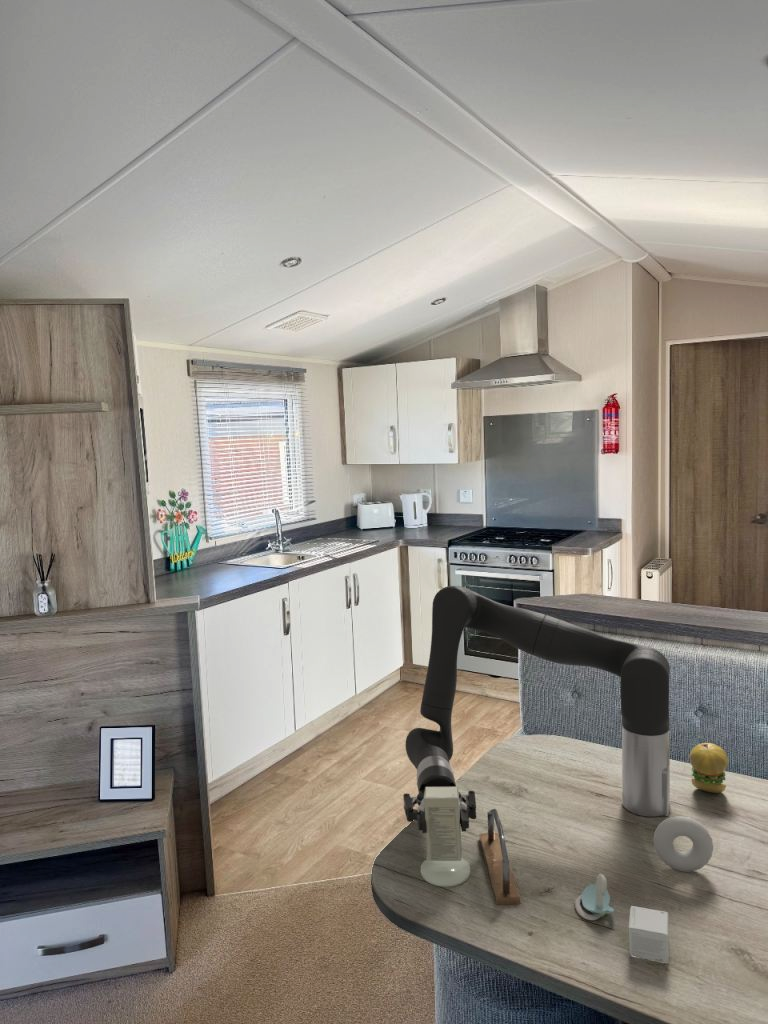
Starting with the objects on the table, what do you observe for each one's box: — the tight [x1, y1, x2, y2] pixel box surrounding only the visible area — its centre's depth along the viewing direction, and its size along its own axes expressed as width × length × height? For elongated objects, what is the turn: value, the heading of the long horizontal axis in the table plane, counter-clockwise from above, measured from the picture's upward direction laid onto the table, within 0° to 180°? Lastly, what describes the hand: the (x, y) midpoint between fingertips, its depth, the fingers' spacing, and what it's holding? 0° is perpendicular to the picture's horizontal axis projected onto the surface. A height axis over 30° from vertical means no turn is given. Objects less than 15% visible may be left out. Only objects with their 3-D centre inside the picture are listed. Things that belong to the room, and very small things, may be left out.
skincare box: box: [424, 786, 463, 861], centre depth 134 cm, size 6×4×12 cm
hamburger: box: [689, 742, 729, 794], centre depth 158 cm, size 8×7×12 cm
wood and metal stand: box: [478, 808, 522, 906], centre depth 135 cm, size 20×4×10 cm, turn 1°
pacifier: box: [574, 873, 615, 921], centre depth 123 cm, size 7×6×6 cm
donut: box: [652, 815, 714, 873], centre depth 132 cm, size 10×3×10 cm, turn 74°
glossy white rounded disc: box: [420, 858, 471, 888], centre depth 135 cm, size 9×9×1 cm
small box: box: [628, 905, 670, 965], centre depth 113 cm, size 6×6×5 cm
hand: (444, 827), depth 132 cm, fingers closed on skincare box, 6 cm apart
